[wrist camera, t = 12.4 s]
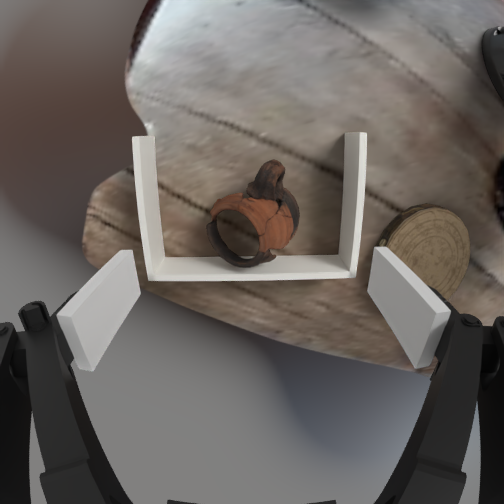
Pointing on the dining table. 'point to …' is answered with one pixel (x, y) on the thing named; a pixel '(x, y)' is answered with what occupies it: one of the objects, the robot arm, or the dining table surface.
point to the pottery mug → (259, 215)
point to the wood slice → (430, 245)
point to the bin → (274, 270)
